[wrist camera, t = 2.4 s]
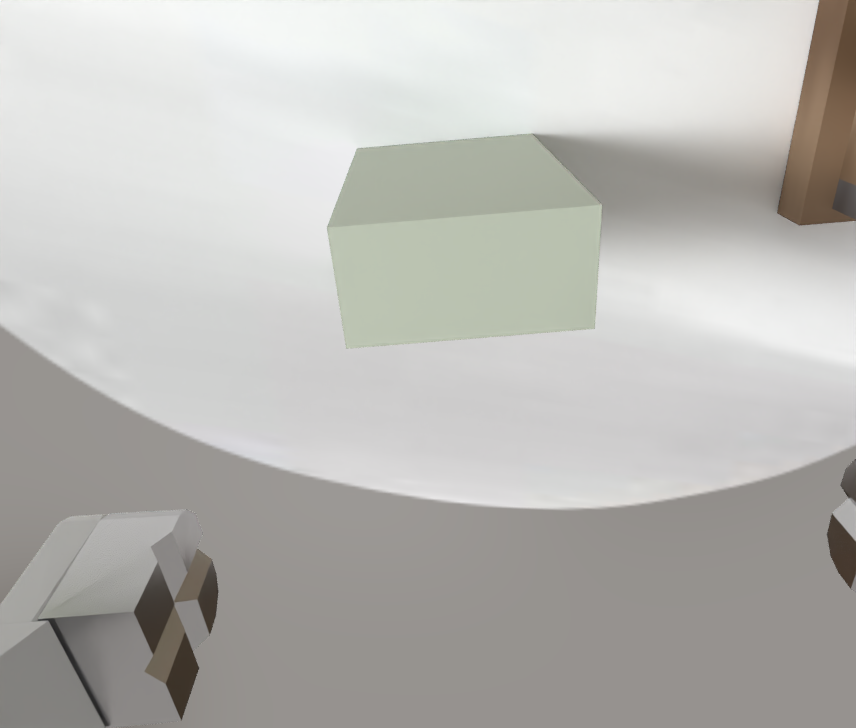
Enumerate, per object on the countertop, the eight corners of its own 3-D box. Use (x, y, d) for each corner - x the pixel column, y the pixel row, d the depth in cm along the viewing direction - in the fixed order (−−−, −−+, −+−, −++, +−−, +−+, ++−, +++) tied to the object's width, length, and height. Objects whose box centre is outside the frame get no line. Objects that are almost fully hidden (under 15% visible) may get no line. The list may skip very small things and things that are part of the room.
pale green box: (357, 148, 22) (327, 227, 14) (531, 133, 21) (602, 204, 14) (367, 233, 23) (346, 348, 15) (531, 219, 23) (594, 329, 15)
